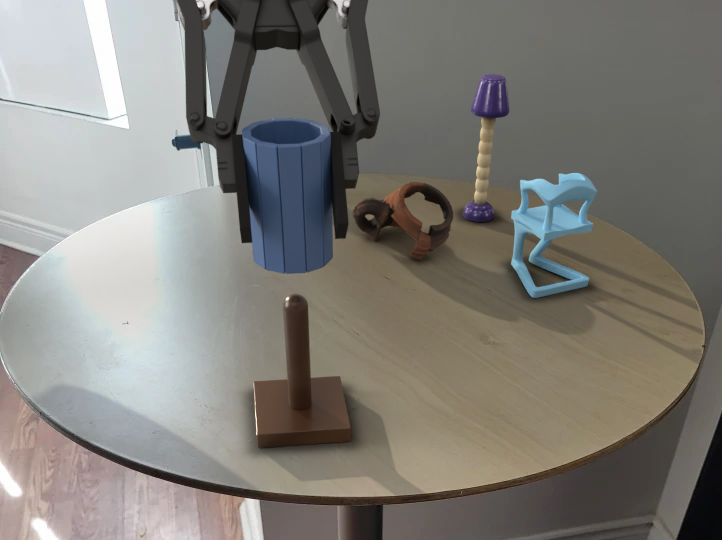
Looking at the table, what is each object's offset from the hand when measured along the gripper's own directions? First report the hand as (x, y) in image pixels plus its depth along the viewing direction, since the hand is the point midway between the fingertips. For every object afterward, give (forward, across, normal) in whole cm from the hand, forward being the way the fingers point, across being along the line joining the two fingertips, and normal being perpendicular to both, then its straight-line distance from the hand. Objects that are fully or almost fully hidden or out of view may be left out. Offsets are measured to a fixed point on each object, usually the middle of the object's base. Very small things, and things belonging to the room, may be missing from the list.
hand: (294, 233), depth 54 cm
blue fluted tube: (0, 0, -5) cm, 5 cm away
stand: (+11, 0, -16) cm, 19 cm away
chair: (-6, -30, -33) cm, 45 cm away
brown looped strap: (-13, -15, -40) cm, 45 cm away
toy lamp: (-19, -27, -46) cm, 56 cm away
